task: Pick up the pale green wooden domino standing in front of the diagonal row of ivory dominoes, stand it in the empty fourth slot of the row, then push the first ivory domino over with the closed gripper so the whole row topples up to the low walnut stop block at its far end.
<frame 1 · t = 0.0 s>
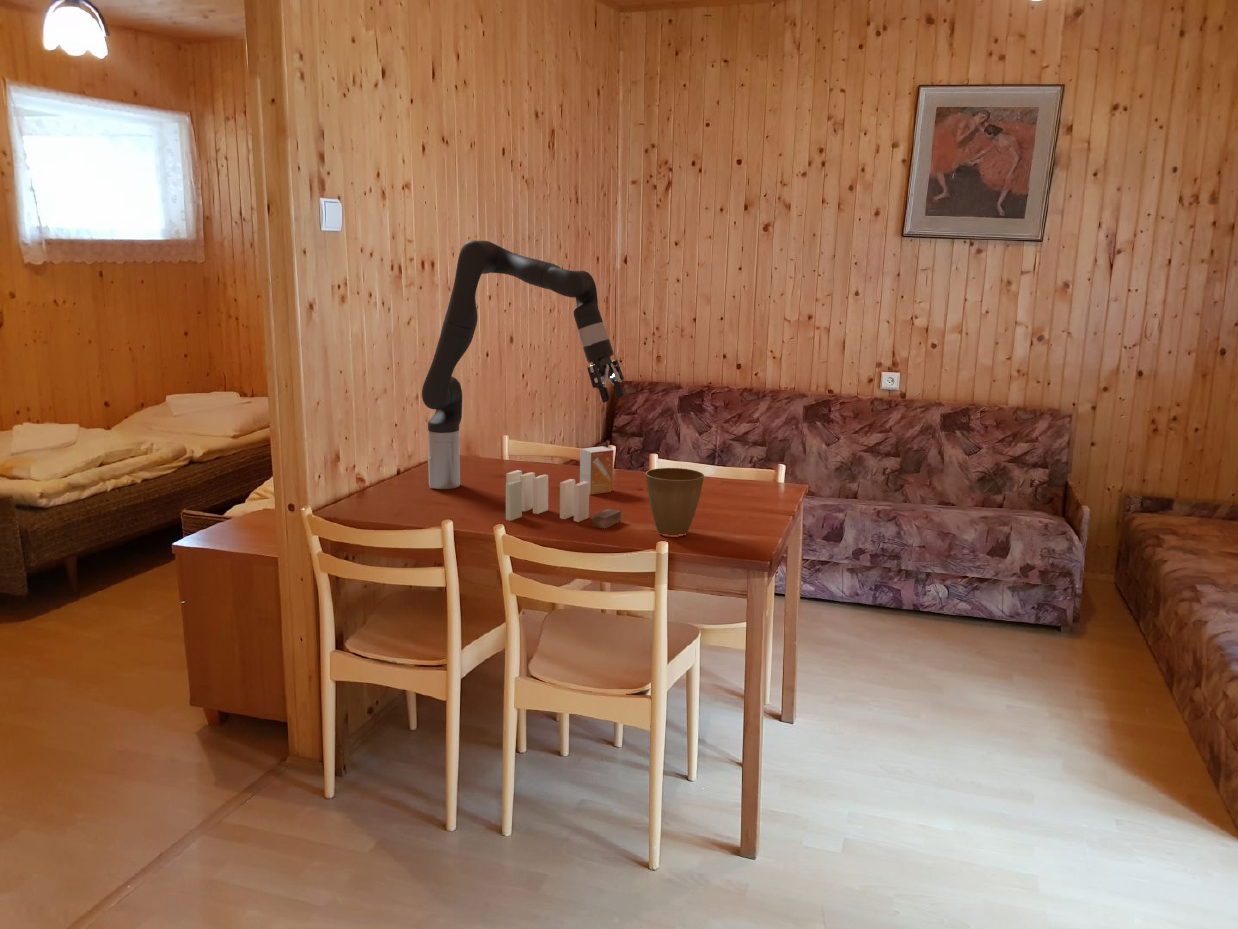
hand: (614, 399, 263), 31 cm above the table, tool tilted 20°, fingers open, 8 cm apart
plant pot: (672, 534, 250), on the table
domino 1: (514, 506, 273), on the table
domino 5: (567, 516, 264), on the table
stop block: (606, 524, 258), on the table
domino 2: (527, 509, 271), on the table
domino 6: (581, 519, 262), on the table
domino 3: (540, 511, 268), on the table
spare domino: (513, 518, 261), on the table
small box: (596, 492, 292), on the table
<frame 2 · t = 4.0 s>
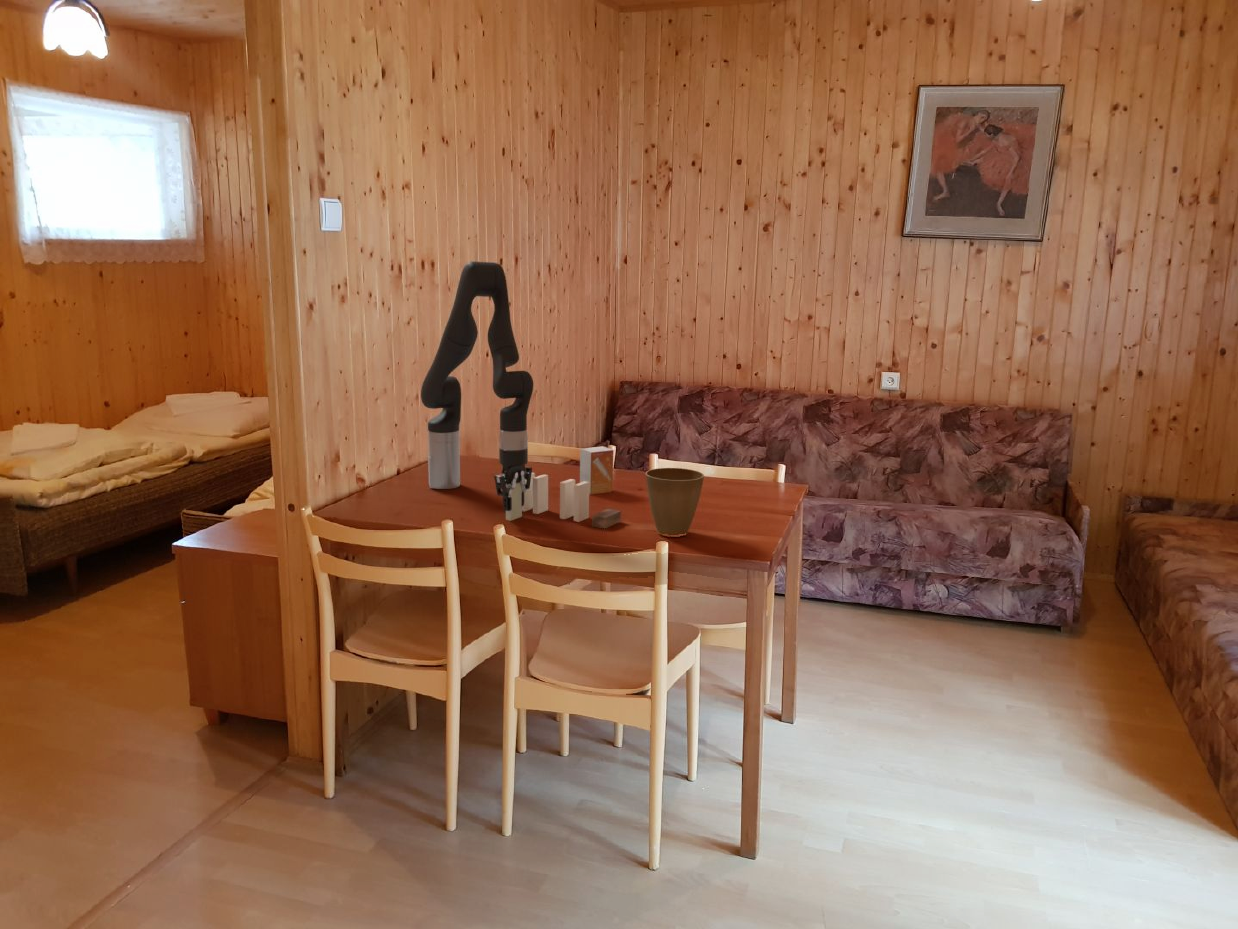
hand: (513, 507, 261), 3 cm above the table, tool pointing down, fingers closed on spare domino, 5 cm apart
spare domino: (513, 518, 261), on the table, touching gripper
everything else where it was.
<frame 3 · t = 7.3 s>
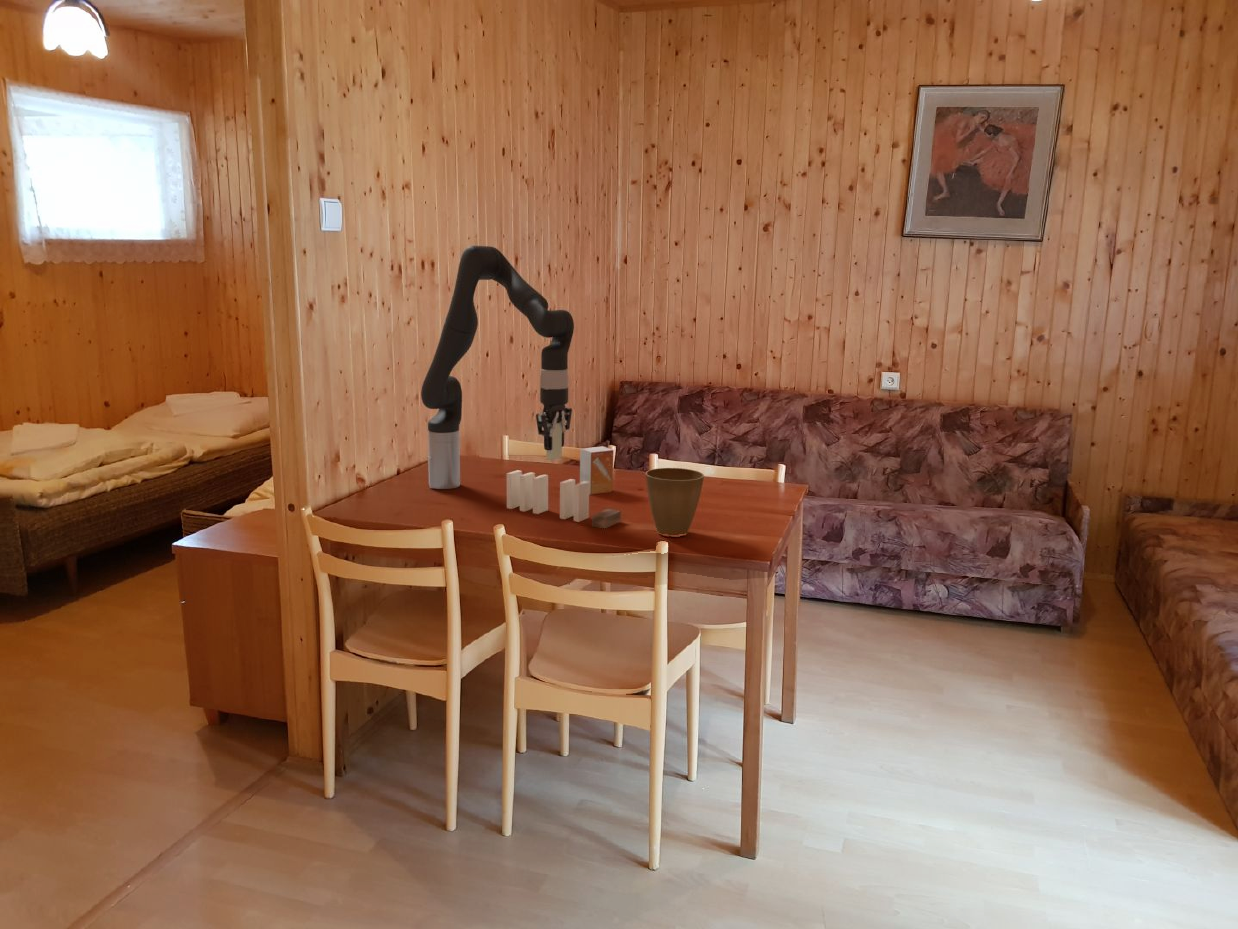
hand: (554, 447, 262), 19 cm above the table, tool pointing down, fingers closed on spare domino, 5 cm apart
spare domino: (554, 458, 263), point 16 cm above the table, touching gripper
everything else where it was.
when the fingers open (3 cm above the table, at t = 10.4 s): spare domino stays where it is, on the table.
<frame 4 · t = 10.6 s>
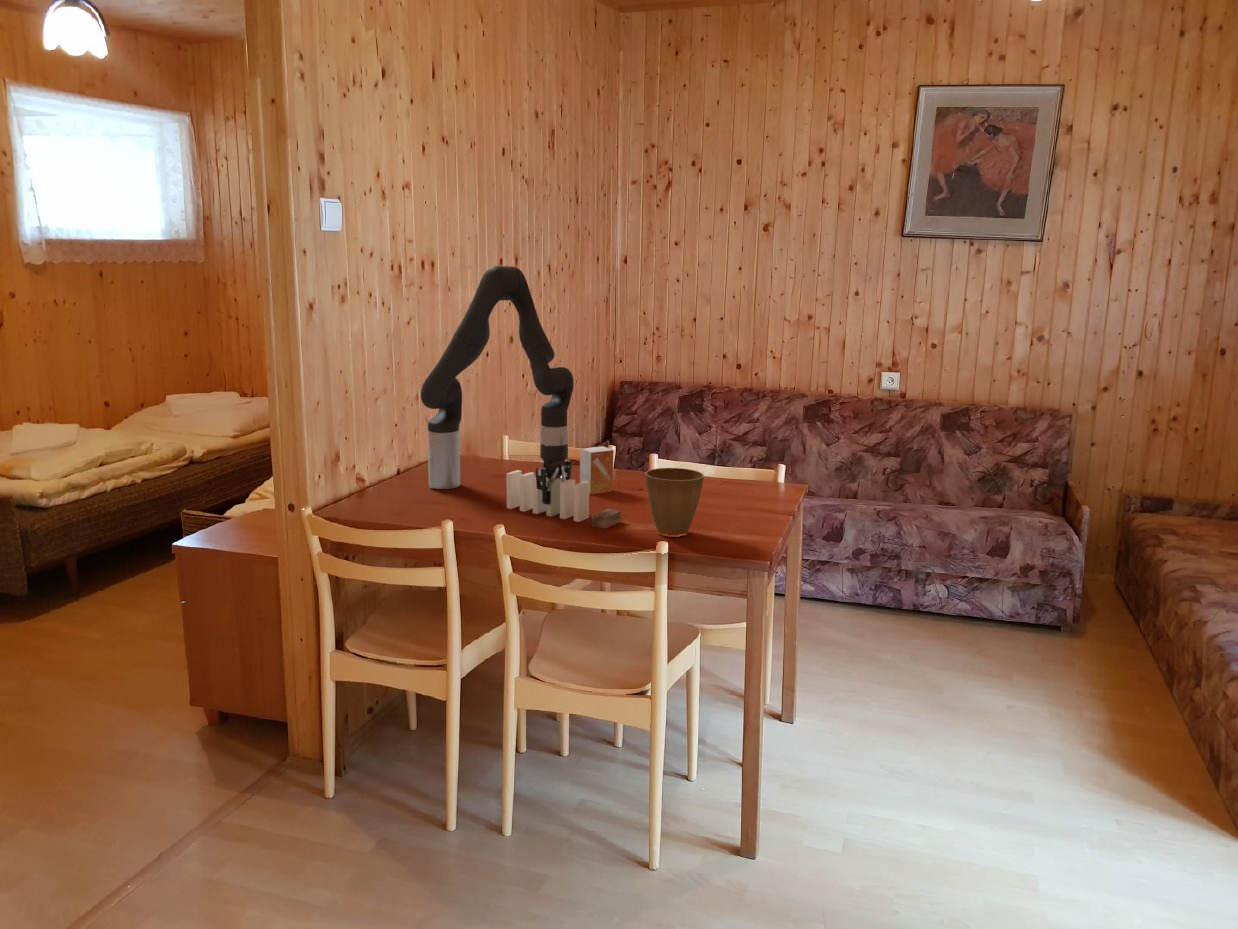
hand: (553, 501, 265), 4 cm above the table, tool pointing down, fingers open, 6 cm apart
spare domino: (553, 514, 266), on the table
everything else where it was.
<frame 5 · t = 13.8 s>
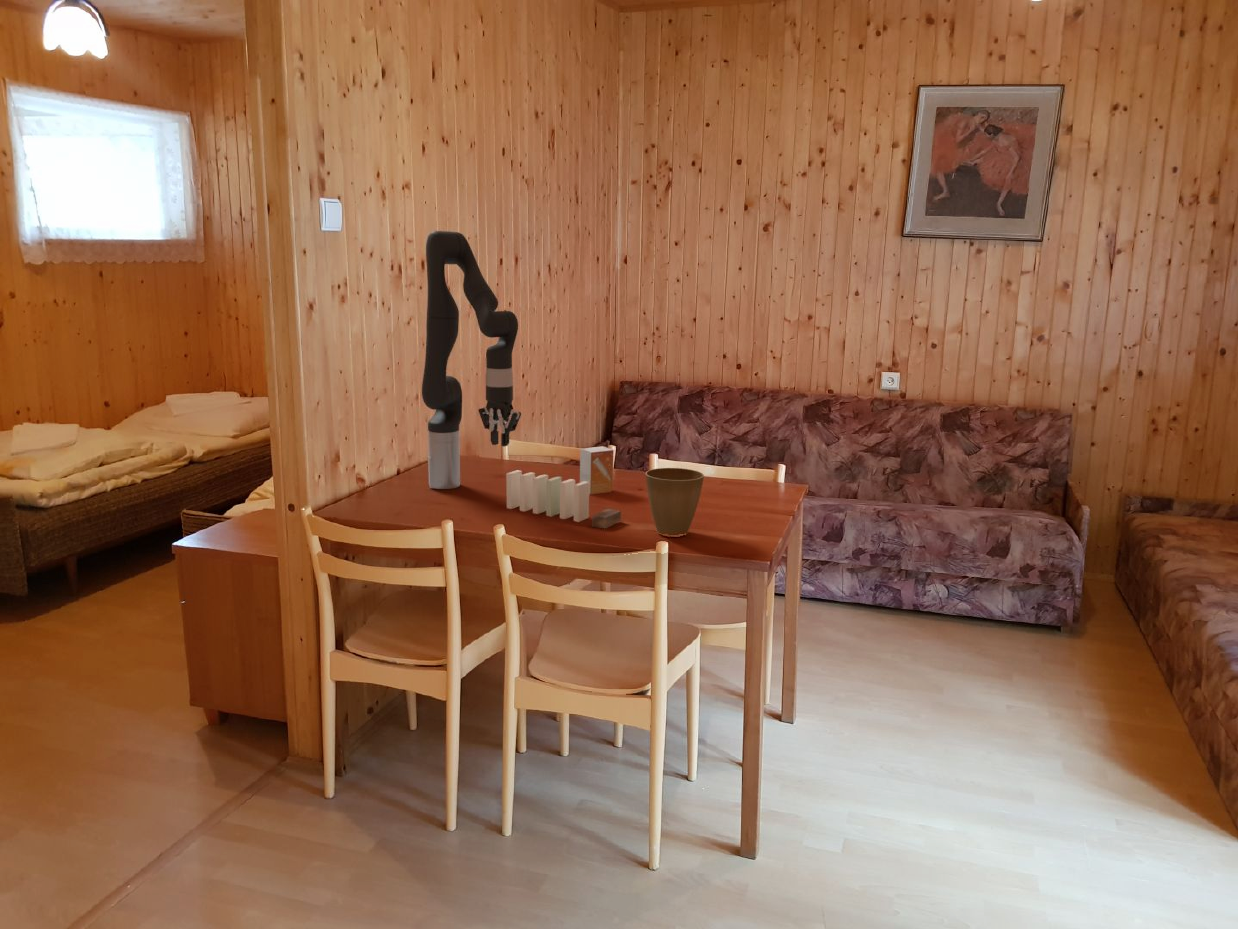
hand: (499, 444, 272), 17 cm above the table, tool pointing down, fingers open, 3 cm apart
nothing on the table moved.
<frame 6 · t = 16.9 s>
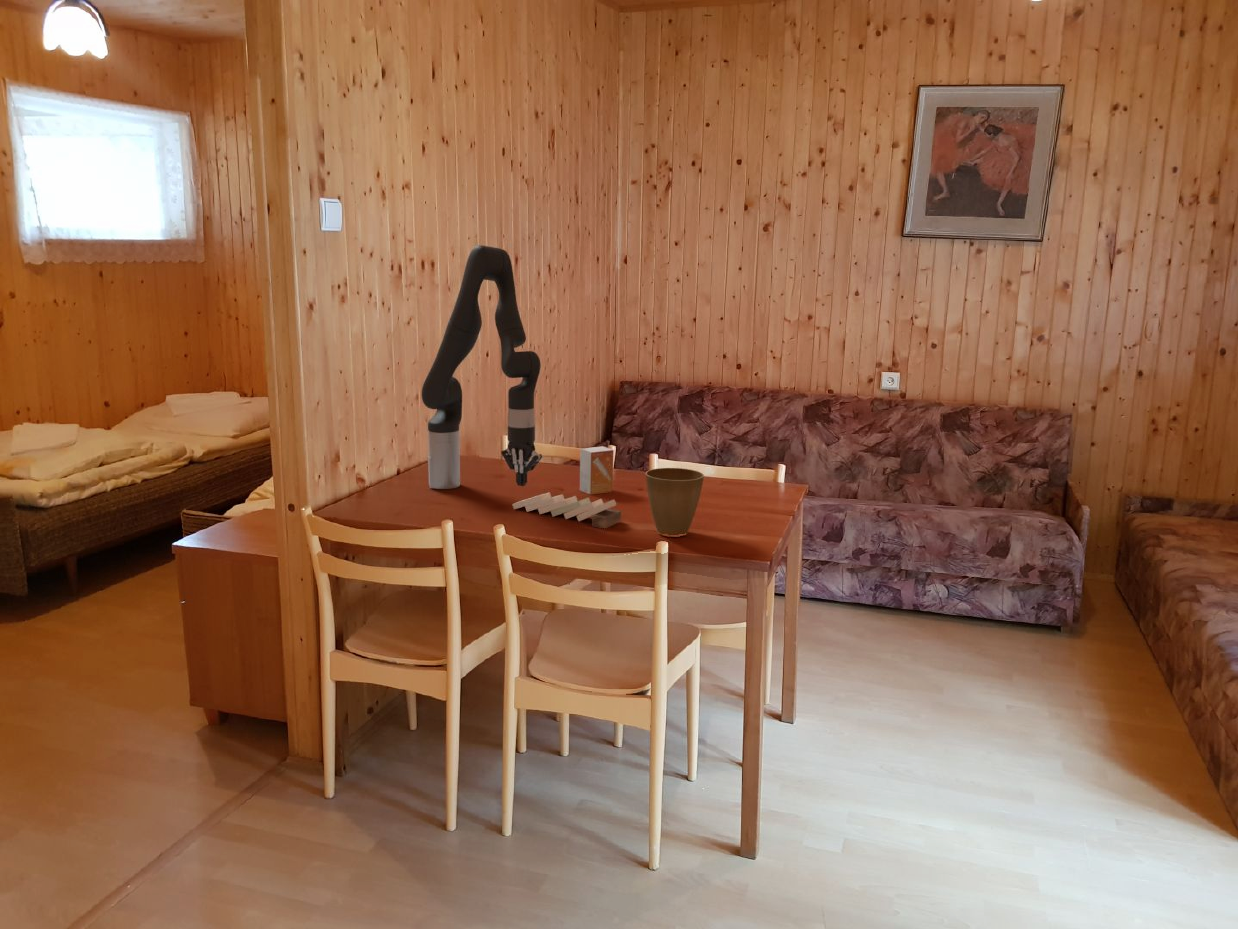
hand: (521, 485, 270), 7 cm above the table, tool pointing down, fingers closed
domino 1: (518, 504, 272), point 1 cm above the table, tilted 68°, touching domino 2
domino 5: (569, 514, 263), point 1 cm above the table, tilted 63°, touching domino 6, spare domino
domino 2: (531, 507, 270), point 1 cm above the table, tilted 67°, touching domino 1, domino 3
domino 6: (582, 516, 261), point 1 cm above the table, tilted 61°, touching domino 5, stop block
domino 3: (544, 509, 268), point 1 cm above the table, tilted 66°, touching domino 2, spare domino
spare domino: (556, 512, 266), point 1 cm above the table, tilted 65°, touching domino 3, domino 5
everything else where it was.
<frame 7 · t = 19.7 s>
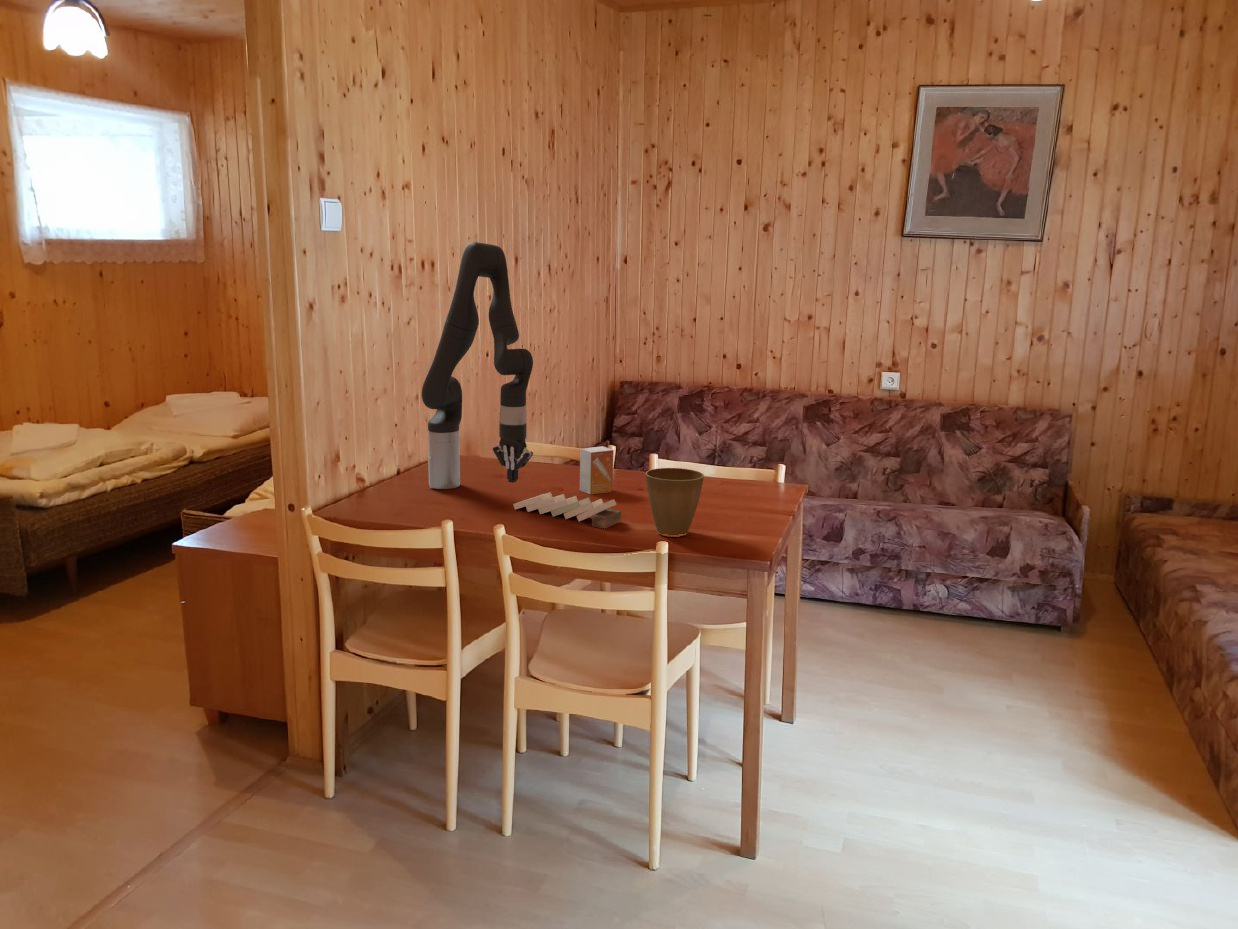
hand: (512, 481, 272), 7 cm above the table, tool pointing down, fingers closed
domino 6: (582, 516, 261), point 1 cm above the table, tilted 60°, touching domino 5, stop block
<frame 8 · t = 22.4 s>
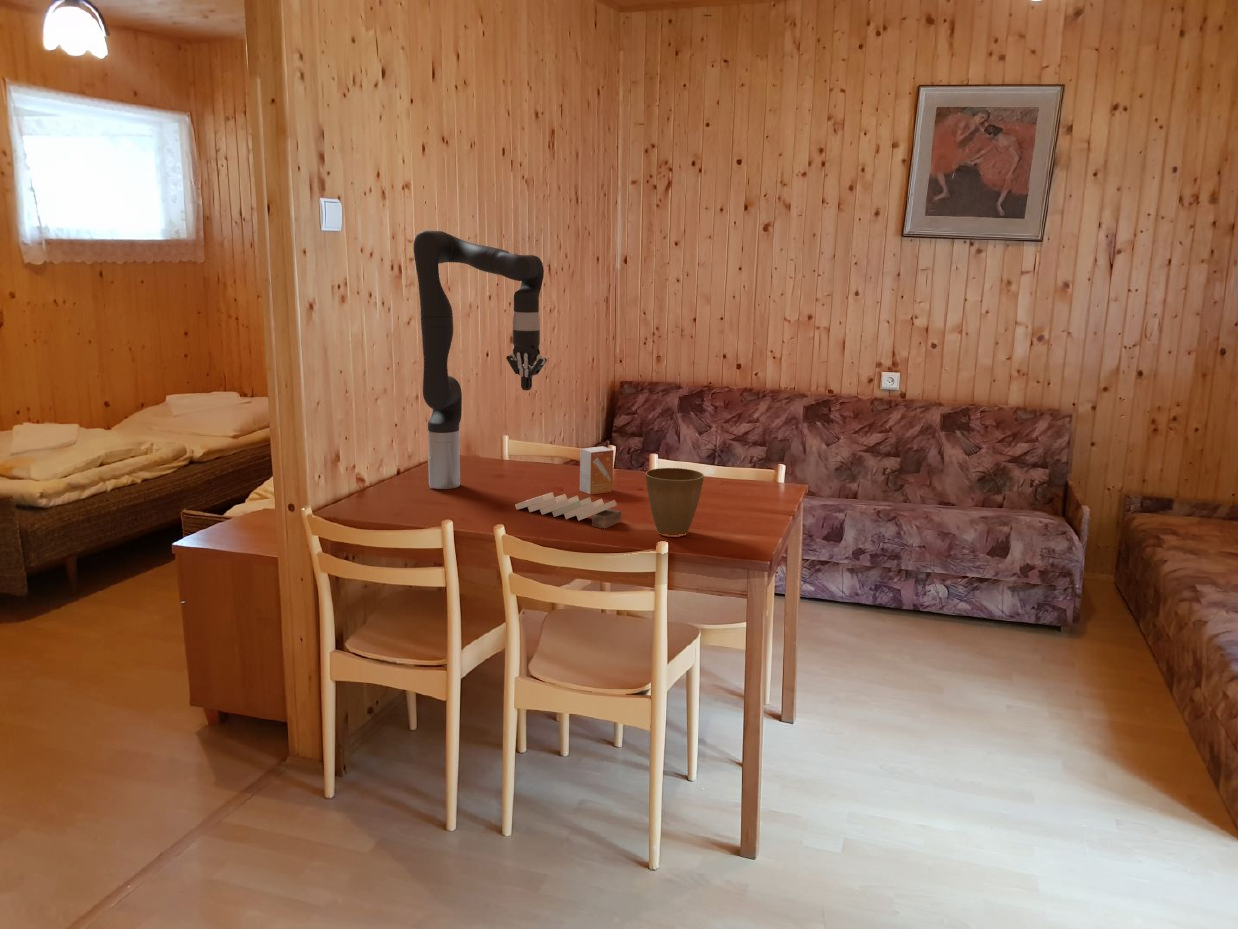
hand: (526, 389, 273), 32 cm above the table, tool pointing down, fingers closed
domino 6: (582, 516, 261), point 1 cm above the table, tilted 63°, touching domino 5, stop block
at the end: domino 6 tilted 63°; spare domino tilted 64°; the gripper is holding nothing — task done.
